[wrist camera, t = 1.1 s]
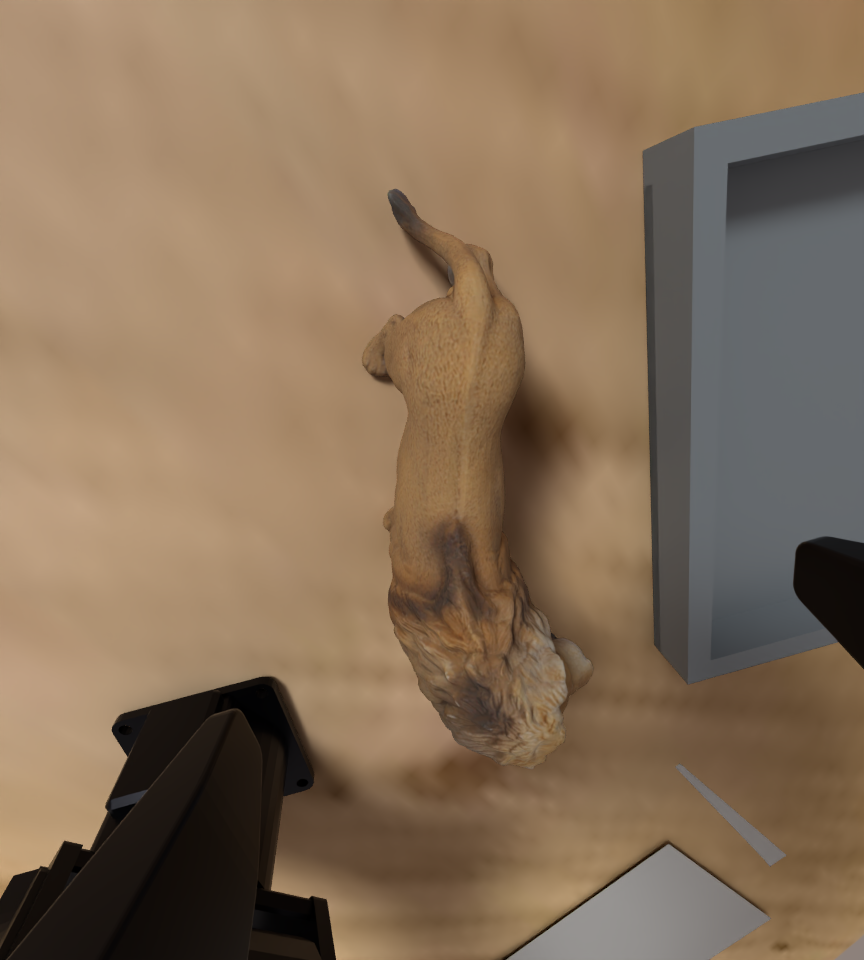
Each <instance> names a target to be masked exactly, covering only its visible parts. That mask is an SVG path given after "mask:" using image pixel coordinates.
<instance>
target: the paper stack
mask: <svg viewBox="0 0 864 960" xmlns="http://www.w3.org/2000/svg"><path fill="white" fill-rule="evenodd" d="M676 768H677V769H678V770H679V771H680V772H681V773H682V775H683V776H684V777H685V778H686V779H687V780H688V781H689V782H690V783H691V784H692V785H693V786H694V787H695V788H696V789H697V790H698V791H699V792H700V793H701V794H702V795H703V796H704V797H705V798H706V800H707V801H708V802H709V803H710V804H711V805H712V806H713V807H714V808H715V809H716V810H717V811H718V812H719V813H720V814H721V815H722V816H723V817H724V818H725V819H726V820H727V821H728V822H729V823H730V824H731V825H732V827H733V828H734V829H735V830H736V831H737V832H738V833H739V834H740V835H741V836H742V837H743V838H744V839H745V840H746V841H747V842H748V843H749V844H750V845H751V846H752V847H753V848H754V849H755V850H756V851H757V852H758V854H759V855H760V856H761V857H762V858H763V859H764V860H765V861H766V862H767V864H768V865H769V866H771V865H773V864H774V863H776V862H777V861H779V860H780V859H782V858H783V857H785V856H786V854H785V853H783V852H782V851H781V850H780V849H779V848H778V847H777V846H775V845H774V844H773V843H772V842H771V841H770V840H768V839H767V838H766V837H765V836H764V835H763V834H761V833H760V832H759V831H758V830H757V829H756V828H754V827H753V826H752V825H751V824H750V823H749V822H747V821H746V820H745V819H744V818H743V817H742V816H740V815H739V814H738V813H737V812H736V811H735V810H733V809H732V808H731V807H730V806H729V805H728V804H726V803H725V802H724V801H723V800H722V799H721V798H719V797H718V796H717V795H716V794H715V793H714V792H712V791H711V790H710V789H709V788H708V787H707V786H705V785H704V784H703V783H702V782H701V781H700V780H699V779H697V778H696V777H695V776H694V775H693V774H692V773H690V772H689V771H688V770H687V769H686V768H685V767H683V766H682V765H681V764H678V765H677V766H676ZM770 919H771V918H770V917H769V916H767V915H766V914H764V913H763V912H762V911H760V910H759V909H758V908H756V907H755V906H753V905H752V904H751V903H749V902H748V901H747V900H745V899H744V898H742V897H741V896H740V895H738V894H737V893H736V892H734V891H733V890H731V889H730V888H729V887H727V886H726V885H725V884H723V883H722V882H720V881H719V880H718V879H716V878H715V877H714V876H712V875H711V874H709V873H708V872H707V871H705V870H704V869H703V868H701V867H700V866H698V865H697V864H696V863H694V862H693V861H692V860H690V859H689V858H687V857H686V856H685V855H683V854H682V853H681V852H679V851H678V850H676V849H675V848H674V847H672V846H671V845H670V844H667V845H666V846H665V847H663V848H662V849H660V850H659V851H658V852H656V853H655V854H653V855H652V856H651V857H649V858H648V859H646V860H645V861H644V862H642V863H641V864H639V865H638V866H637V867H635V868H634V869H632V870H631V871H630V872H628V873H627V874H625V875H624V876H623V877H621V878H620V879H618V880H617V881H616V882H614V883H613V884H611V885H610V886H609V887H607V888H606V889H604V890H603V891H602V892H600V893H599V894H597V895H596V896H595V897H593V898H592V899H590V900H589V901H588V902H586V903H585V904H583V905H582V906H581V907H579V908H578V909H576V910H575V911H574V912H572V913H571V914H569V915H568V916H567V917H565V918H564V919H562V920H561V921H560V922H558V923H557V924H555V925H554V926H553V927H551V928H550V929H548V930H547V931H546V932H544V933H543V934H541V935H540V936H539V937H537V938H536V939H534V940H533V941H532V942H530V943H529V944H527V945H526V946H524V947H523V948H522V949H520V950H519V951H517V952H516V953H515V954H513V955H512V956H510V957H509V958H508V959H506V960H709V959H711V958H712V957H714V956H715V955H717V954H718V953H720V952H721V951H723V950H724V949H726V948H727V947H729V946H730V945H732V944H733V943H735V942H736V941H738V940H740V939H741V938H743V937H744V936H746V935H747V934H749V933H750V932H752V931H753V930H755V929H756V928H758V927H759V926H761V925H762V924H764V923H765V922H767V921H768V920H770Z"/></svg>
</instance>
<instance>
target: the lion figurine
mask: <svg viewBox="0 0 864 960" xmlns="http://www.w3.org/2000/svg"><path fill="white" fill-rule="evenodd" d="M388 199H389V202H390V204H391V206H392V211H393V214H394V216H395V218H396V220H397V222H398V224H399V225H400V226H401V228H402V229H404V230H405V231H406V232H408V233H409V234H410V235H411V236H412V237H413V238H414V239H416V240H417V241H419V242H421V243H423V244H424V245H426V246H427V247H429V248H431V249H432V250H433V251H435V252H436V253H437V254H438V255H439V256H440V257H442V258H443V259H444V260H445V261H446V263H447V264H448V277H449V281H450V283H451V285H452V287H451V288H450V289H449V291H448V293H447V296H446V298H437V299H433V300H431V301H428V302H426V303H424V304H423V305H421V306H419V307H418V308H417V309H416V310H414V311H413V312H412V313H411V314H410V315H408V316H407V317H406V318H405V319H404V317H403V316H401V315H397V314H396V315H393V316H392V317H391V318H390V319H389V320H388V322H387V323H386V325H385V326H384V327H383V329H382V330H381V332H380V333H379V334H377V335H376V336H375V337H373V339H372V340H371V341H370V342H369V344H368V345H367V347H366V349H365V351H364V353H363V357H362V363H363V366H364V367H365V369H366V370H367V371H368V373H369V374H371V375H374V376H379V377H380V376H390V377H391V379H392V380H393V383H394V385H395V387H396V388H397V389H398V390H399V391H400V392H401V393H402V394H403V395H404V398H405V401H406V404H407V408H408V417H407V422H406V426H405V429H404V433H403V436H402V440H401V444H400V448H399V452H398V458H397V483H396V489H395V501H394V507H392V508H391V509H390V510H389V511H388V512H387V513H386V515H385V517H384V522H383V524H384V527H385V529H387V530H388V531H389V532H390V545H389V554H390V558H391V561H392V573H393V579H392V582H391V585H390V588H389V594H388V606H389V613H390V618H391V620H392V622H393V624H394V626H395V627H394V633H395V635H396V637H397V638H398V639H399V642H400V644H401V646H402V649H403V650H404V652H405V653H406V655H407V656H408V657H409V660H410V662H411V664H412V666H413V669H414V671H415V672H416V675H417V677H418V685H419V688H420V690H421V692H422V693H423V694H424V695H425V697H426V698H427V699H428V700H429V701H431V703H432V705H433V706H434V708H435V709H436V710H437V711H438V712H439V715H440V717H441V720H442V722H443V723H444V724H445V726H446V727H447V728H448V729H449V730H451V732H452V735H453V738H454V740H455V741H456V742H457V743H458V744H460V745H463V746H465V747H467V748H468V749H470V750H472V751H474V752H477V753H479V754H482V755H485V756H488V757H490V758H492V759H493V760H494V761H495V762H496V763H498V764H500V765H503V766H505V765H516V766H519V767H525V768H528V769H533V768H534V766H535V765H537V764H541V763H543V762H544V761H545V760H546V757H547V755H548V754H550V753H552V752H553V751H555V750H556V749H557V747H558V746H559V745H561V744H562V743H564V741H565V738H566V728H565V726H564V724H563V715H562V713H563V712H564V710H565V708H566V706H567V702H568V699H569V696H570V695H572V694H573V693H574V692H575V691H576V690H577V689H579V688H581V687H582V686H584V685H585V684H587V682H588V681H589V679H590V677H591V676H592V673H593V665H592V663H591V662H590V660H588V659H587V658H585V656H584V655H583V653H582V651H581V649H580V648H579V647H578V646H577V645H576V644H575V643H574V642H572V641H570V640H568V639H565V638H556V637H555V636H554V635H553V633H551V631H550V626H549V623H548V620H547V617H546V616H545V615H544V614H543V613H542V612H541V611H540V610H538V609H537V608H535V607H534V606H533V604H532V603H531V600H530V597H529V593H528V589H527V586H526V584H525V582H524V580H523V577H522V574H521V573H520V570H519V568H518V567H517V566H516V564H515V563H514V562H513V561H512V560H511V559H510V555H509V547H508V540H507V537H506V536H505V534H504V533H503V532H502V525H503V518H504V509H505V483H504V470H503V461H502V453H501V445H500V438H501V430H502V426H503V423H504V420H505V418H506V415H507V413H508V411H509V409H510V407H511V404H512V402H513V400H514V397H515V395H516V393H517V390H518V388H519V386H520V383H521V381H522V378H523V375H524V369H525V354H524V341H523V330H522V325H521V321H520V317H519V314H518V312H517V310H516V308H515V307H514V305H513V304H512V303H511V302H510V301H509V300H508V299H506V298H505V297H503V295H502V294H501V293H500V291H499V290H498V288H497V286H496V284H495V282H494V276H493V262H492V259H491V256H490V254H489V253H488V251H487V250H485V249H483V248H481V247H478V246H475V245H472V244H464V243H463V242H462V241H461V240H459V239H458V238H456V237H454V236H453V235H450V234H448V233H445V232H442V231H439V230H437V229H435V228H433V227H432V226H430V225H429V224H427V223H426V222H425V221H423V220H422V219H420V218H419V216H418V215H417V213H416V210H415V208H414V207H413V206H412V205H411V204H410V202H409V200H408V199H407V197H406V196H405V195H404V194H403V193H402V192H401V191H399V190H398V189H393V190H389V192H388Z"/></svg>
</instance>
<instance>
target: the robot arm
mask: <svg viewBox="0 0 864 960" xmlns="http://www.w3.org/2000/svg"><path fill="white" fill-rule="evenodd" d="M793 588H794V591H795V594H796V596H797V597H798V599H799V600H800V601H801V602H802V603H803V605H804V606H805V607H806V608H807V609H808V610H809V611H810V612H811V613H812V614H813V615H814V616H815V617H816V618H817V620H818V621H819V622H820V623H821V624H822V625H823V626H824V627H825V628H826V629H827V630H828V631H829V632H830V633H831V635H832V636H833V637H834V638H835V639H836V640H837V641H838V642H839V643H840V644H841V645H842V646H843V647H844V648H845V650H846V651H847V652H848V653H849V654H850V655H851V656H852V657H853V658H854V659H855V660H856V661H857V662H858V663H859V665H860V666H861V667H862V668H863V669H864V543H861V542H856V541H851V540H846V539H841V538H835V537H830V536H822V537H818V538H815V539H811V540H808V541H804V542H802V543H800V544H799V545H798V547H797V548H796V552H795V563H794V575H793ZM259 689H266V691H261V690H259ZM125 725H127V726H125ZM128 726H130V727H128ZM112 733H113V735H114V736H115V738H116V739H117V741H118V742H119V744H120V746H121V747H122V749H123V750H124V752H125V753H126V755H127V757H128V758H127V760H126V762H125V764H124V766H123V768H122V771H121V773H120V775H119V777H118V779H117V781H116V783H115V785H114V787H113V790H112V792H111V794H110V796H109V798H108V800H107V802H106V806H105V808H106V809H107V811H108V812H107V814H106V817H105V819H104V821H103V823H102V825H101V827H100V830H99V832H98V834H97V836H96V838H95V840H94V843H93V845H92V847H91V849H90V850H86V849H82V846H83V845H81V844H77V843H72V842H68V841H64V842H63V843H62V845H61V847H60V848H59V850H58V852H57V853H56V855H55V857H54V858H53V860H52V862H51V863H50V865H49V867H43V866H40V868H39V869H36V870H33V871H29V872H25V873H22V874H18V875H15V876H13V878H12V879H11V881H10V883H9V885H8V886H7V888H6V890H5V891H4V893H3V895H2V897H1V898H0V960H336V956H335V950H334V943H333V936H332V930H331V923H330V917H329V910H328V904H327V900H326V899H323V898H319V897H314V896H311V897H310V898H309V899H308V898H303V897H298V896H294V895H289V894H285V893H280V892H276V891H271V885H272V878H273V870H274V863H275V855H276V848H277V840H278V833H279V825H280V818H281V810H282V803H283V796H287V795H291V794H294V793H298V792H301V791H305V790H307V789H310V788H311V787H312V786H313V783H314V771H313V769H312V766H311V764H310V762H309V759H308V757H307V755H306V752H305V750H304V748H303V745H302V743H301V741H300V738H299V736H298V734H297V731H296V729H295V727H294V724H293V722H292V720H291V717H290V715H289V713H288V710H287V708H286V706H285V704H284V701H283V699H282V697H281V694H280V692H279V690H278V687H277V685H276V683H275V681H274V680H273V679H271V678H269V677H259V678H255V679H251V680H248V681H244V682H240V683H236V684H232V685H229V686H225V687H221V688H217V689H214V690H210V691H206V692H202V693H199V694H195V695H191V696H187V697H183V698H180V699H176V700H172V701H168V702H165V703H161V704H157V705H153V706H150V707H146V708H142V709H138V710H134V711H131V712H127V713H124V714H121V715H120V716H119V717H118V718H117V719H116V721H115V723H114V725H113V727H112Z"/></svg>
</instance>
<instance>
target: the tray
mask: <svg viewBox="0 0 864 960" xmlns="http://www.w3.org/2000/svg"><path fill="white" fill-rule="evenodd" d="M643 178H644V221H645V264H646V306H647V349H648V392H649V435H650V478H651V521H652V563H653V606H654V645H655V646H656V647H657V649H658V650H659V651H660V652H661V653H662V654H663V656H664V657H665V658H666V659H667V660H668V662H669V663H670V664H671V665H672V666H673V668H674V669H675V670H676V671H677V672H678V673H679V675H680V676H681V677H682V678H683V679H684V681H685V682H686V683H687V684H692V683H695V682H699V681H702V680H706V679H709V678H713V677H716V676H720V675H724V674H727V673H731V672H734V671H738V670H741V669H745V668H748V667H752V666H755V665H759V664H762V663H766V662H770V661H773V660H777V659H780V658H784V657H787V656H791V655H794V654H798V653H801V652H805V651H809V650H812V649H816V648H819V647H823V646H826V645H830V644H833V643H837V642H838V641H837V640H836V639H835V638H834V637H833V636H832V635H831V633H830V632H829V631H828V630H827V629H826V628H825V627H824V626H823V625H822V624H821V623H820V622H819V621H818V620H817V618H816V617H815V616H814V615H813V614H812V613H811V612H810V611H809V610H808V609H807V608H806V607H805V606H804V605H803V603H802V602H801V601H800V600H799V599H798V597H797V596H796V594H795V591H794V588H793V575H794V563H795V552H796V548H797V547H798V545H799V544H800V543H802V542H804V541H808V540H811V539H815V538H818V537H822V536H830V537H835V538H841V539H846V540H851V541H856V542H861V543H864V93H859V94H855V95H850V96H845V97H840V98H835V99H830V100H825V101H820V102H815V103H810V104H805V105H801V106H796V107H791V108H786V109H781V110H776V111H771V112H766V113H761V114H756V115H752V116H747V117H742V118H737V119H732V120H727V121H722V122H717V123H712V124H707V125H702V126H698V127H694V128H691V129H689V130H687V131H685V132H683V133H681V134H678V135H676V136H674V137H672V138H670V139H667V140H665V141H663V142H661V143H659V144H657V145H654V146H652V147H650V148H648V149H646V150H644V151H643Z"/></svg>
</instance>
